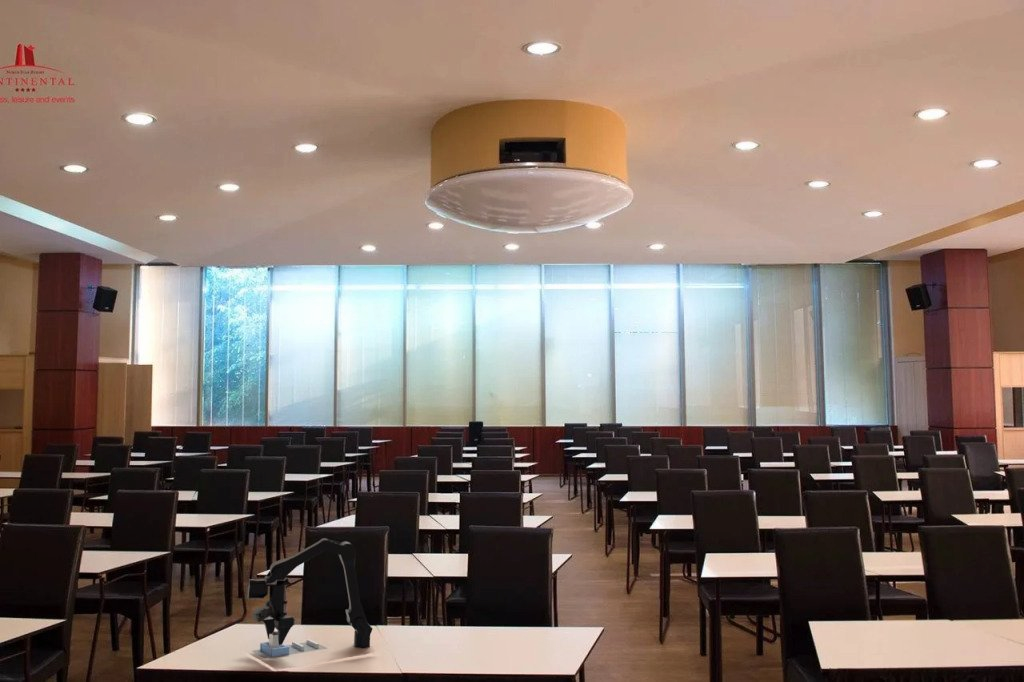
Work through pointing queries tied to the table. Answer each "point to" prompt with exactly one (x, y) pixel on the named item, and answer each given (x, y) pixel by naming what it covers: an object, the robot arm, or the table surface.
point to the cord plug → (274, 640)
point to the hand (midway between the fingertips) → (275, 641)
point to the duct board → (287, 649)
